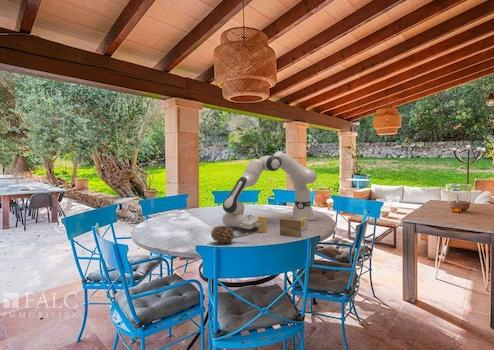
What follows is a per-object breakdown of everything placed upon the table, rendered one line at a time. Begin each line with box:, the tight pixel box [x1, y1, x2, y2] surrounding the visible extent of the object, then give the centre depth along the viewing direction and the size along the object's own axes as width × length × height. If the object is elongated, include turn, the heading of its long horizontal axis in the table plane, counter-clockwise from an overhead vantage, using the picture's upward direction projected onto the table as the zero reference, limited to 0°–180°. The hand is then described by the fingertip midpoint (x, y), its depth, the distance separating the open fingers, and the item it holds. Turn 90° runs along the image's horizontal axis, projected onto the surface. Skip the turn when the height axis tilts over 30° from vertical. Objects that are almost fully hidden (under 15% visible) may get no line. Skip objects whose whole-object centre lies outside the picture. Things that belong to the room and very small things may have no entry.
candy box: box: [299, 217, 309, 233], centre depth 184 cm, size 16×2×8 cm, turn 141°
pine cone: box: [210, 225, 250, 244], centre depth 162 cm, size 22×10×10 cm, turn 96°
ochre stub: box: [257, 215, 268, 234], centre depth 183 cm, size 3×5×10 cm, turn 63°
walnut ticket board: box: [279, 217, 302, 238], centre depth 175 cm, size 4×12×10 cm, turn 63°
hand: (263, 223), depth 183 cm, fingers closed on ochre stub, 3 cm apart
